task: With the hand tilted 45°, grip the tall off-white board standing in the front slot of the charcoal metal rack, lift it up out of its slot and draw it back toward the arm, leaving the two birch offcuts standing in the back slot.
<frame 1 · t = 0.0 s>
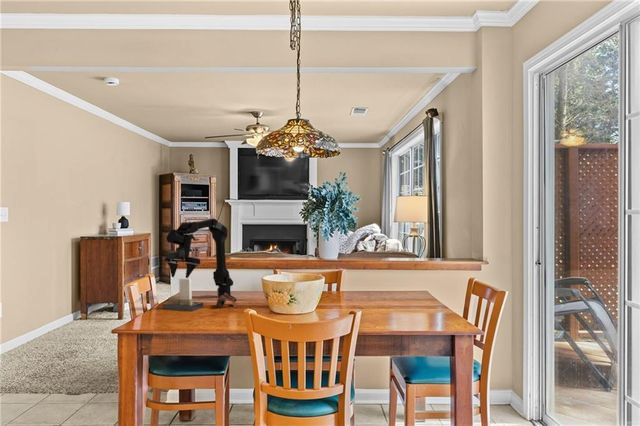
hand: (179, 277, 232), 15 cm above the table, tool pointing down, fingers open, 9 cm apart
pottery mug: (224, 308, 232), on the table
rack: (185, 308, 232), on the table
offcut right: (175, 308, 229), point 1 cm above the table, touching rack
offcut left: (186, 309, 227), point 1 cm above the table, touching rack
tall sheet: (185, 307, 232), point 1 cm above the table, touching rack
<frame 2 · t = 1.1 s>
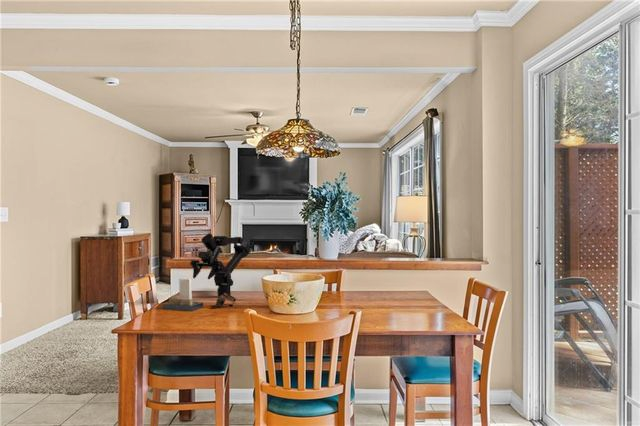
hand: (200, 278, 243), 13 cm above the table, tool tilted 45°, fingers open, 9 cm apart
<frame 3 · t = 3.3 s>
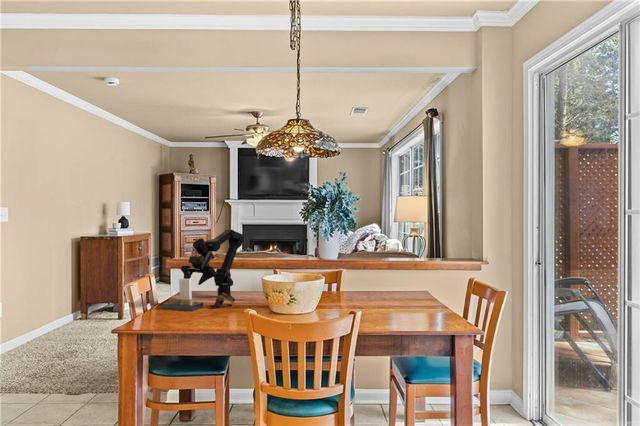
hand: (191, 284, 236), 11 cm above the table, tool tilted 45°, fingers open, 9 cm apart
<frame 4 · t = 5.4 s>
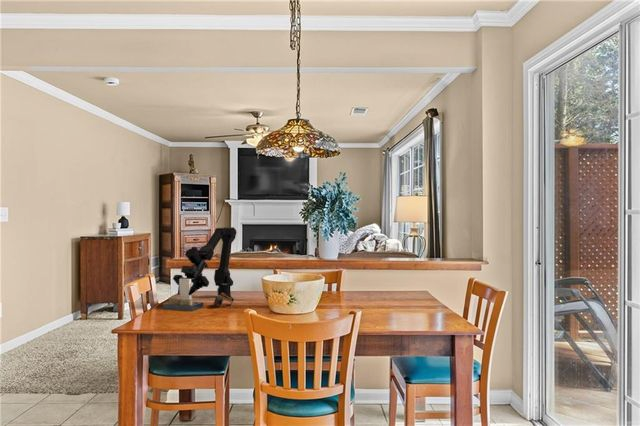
hand: (183, 294, 230), 7 cm above the table, tool tilted 45°, fingers closed on tall sheet, 6 cm apart
tall sheet: (185, 307, 232), point 1 cm above the table, touching gripper, rack
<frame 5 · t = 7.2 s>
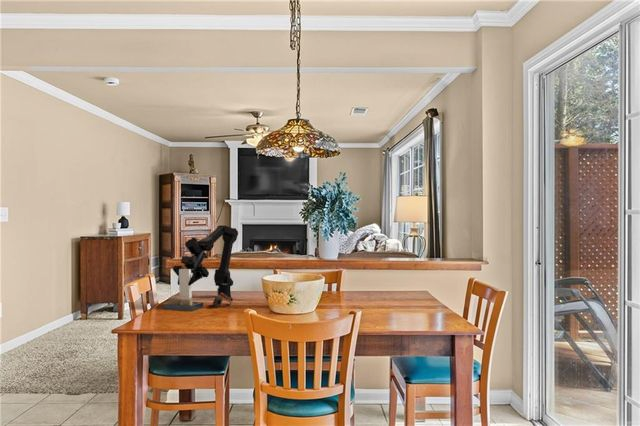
hand: (183, 284, 230), 12 cm above the table, tool tilted 45°, fingers closed on tall sheet, 6 cm apart
tall sheet: (185, 297, 232), point 6 cm above the table, touching gripper
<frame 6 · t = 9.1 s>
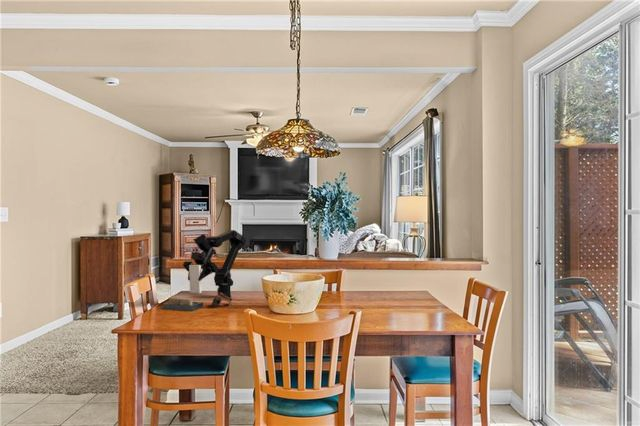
hand: (193, 280, 238), 13 cm above the table, tool tilted 45°, fingers closed on tall sheet, 6 cm apart
tall sheet: (195, 292, 239), point 7 cm above the table, touching gripper
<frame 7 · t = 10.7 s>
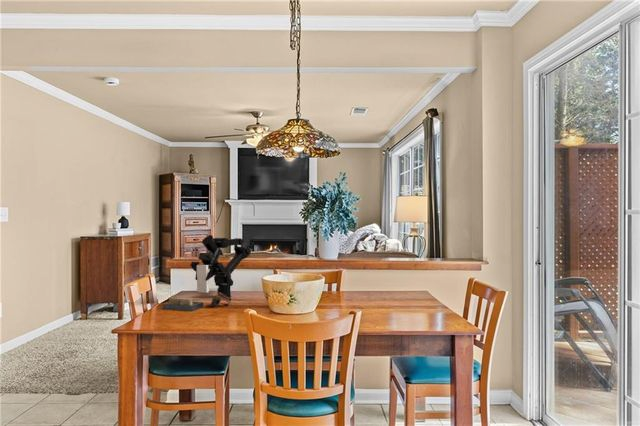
hand: (201, 279, 243), 13 cm above the table, tool tilted 45°, fingers closed on tall sheet, 6 cm apart
tall sheet: (202, 292, 245), point 6 cm above the table, touching gripper
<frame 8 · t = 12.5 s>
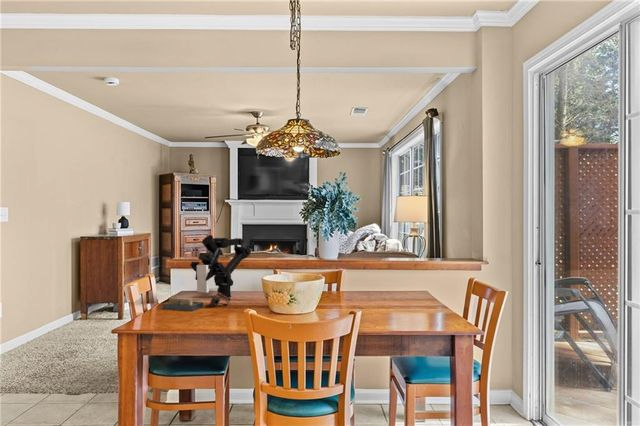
hand: (201, 279, 243), 13 cm above the table, tool tilted 45°, fingers closed on tall sheet, 6 cm apart
tall sheet: (202, 292, 245), point 6 cm above the table, touching gripper
at the end: the gripper is holding tall sheet; tall sheet point 6.0 cm above the table; tall sheet moved 15.1 cm from its start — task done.
